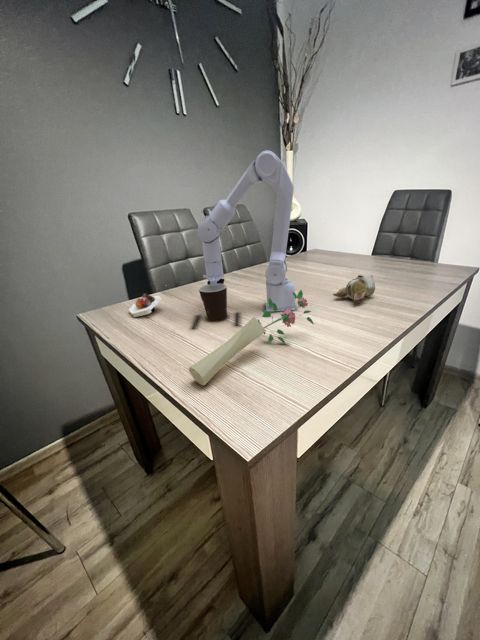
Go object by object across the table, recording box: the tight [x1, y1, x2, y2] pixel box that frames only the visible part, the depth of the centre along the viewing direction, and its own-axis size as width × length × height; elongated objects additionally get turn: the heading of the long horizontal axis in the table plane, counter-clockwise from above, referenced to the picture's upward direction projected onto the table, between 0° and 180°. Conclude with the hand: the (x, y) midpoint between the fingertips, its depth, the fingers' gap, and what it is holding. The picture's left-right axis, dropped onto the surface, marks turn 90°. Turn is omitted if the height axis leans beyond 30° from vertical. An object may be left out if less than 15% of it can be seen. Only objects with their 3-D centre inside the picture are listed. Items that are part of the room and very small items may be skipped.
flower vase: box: [188, 289, 315, 386], centre depth 66 cm, size 12×12×35 cm
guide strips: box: [191, 312, 240, 330], centre depth 87 cm, size 14×10×1 cm
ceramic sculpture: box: [332, 274, 376, 303], centre depth 96 cm, size 11×9×15 cm
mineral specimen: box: [128, 292, 163, 318], centre depth 95 cm, size 12×12×7 cm
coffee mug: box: [198, 283, 228, 322], centre depth 88 cm, size 12×9×10 cm
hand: (218, 300), depth 97 cm, fingers closed
